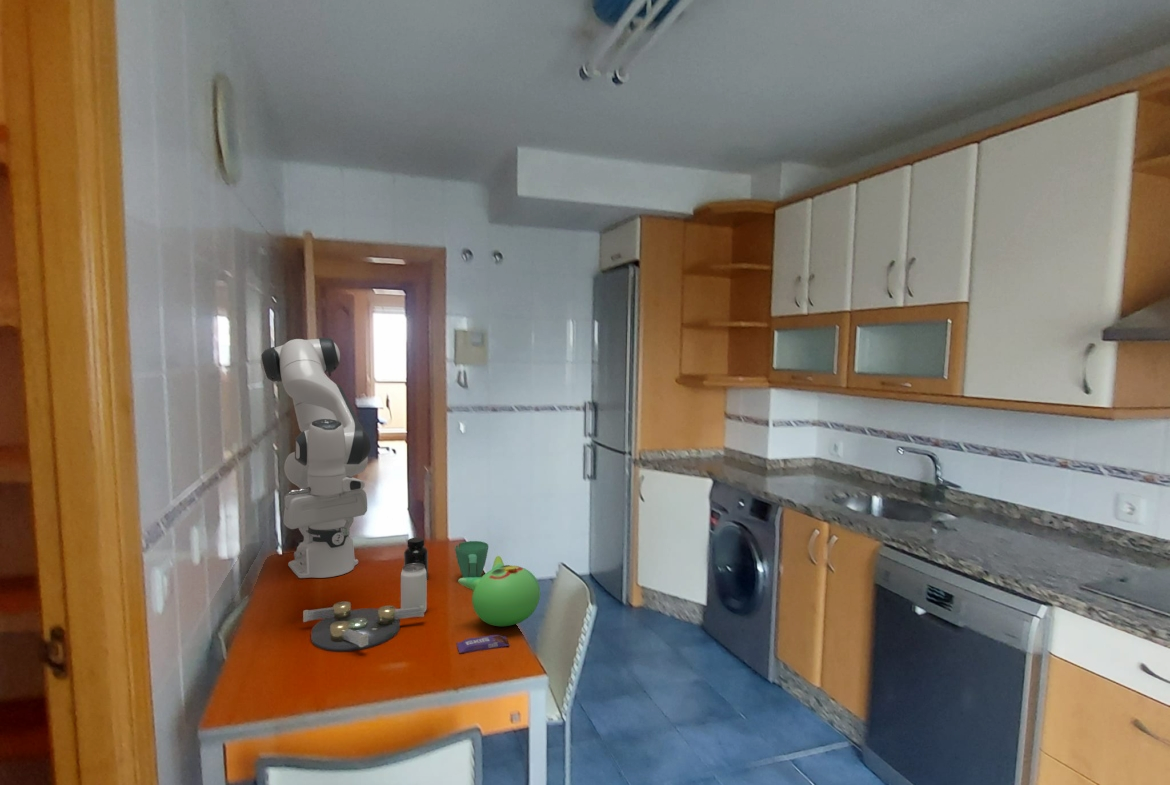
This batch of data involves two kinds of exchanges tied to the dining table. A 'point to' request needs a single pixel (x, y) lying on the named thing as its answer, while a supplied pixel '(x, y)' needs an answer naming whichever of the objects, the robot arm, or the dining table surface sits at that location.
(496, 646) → the snack package
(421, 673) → the dining table surface
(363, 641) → the front knob
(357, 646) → the levelling plate
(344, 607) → the back knob
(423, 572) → the can
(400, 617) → the left knob
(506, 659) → the dining table surface
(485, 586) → the toy bird
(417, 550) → the supplement bottle
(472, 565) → the mug
